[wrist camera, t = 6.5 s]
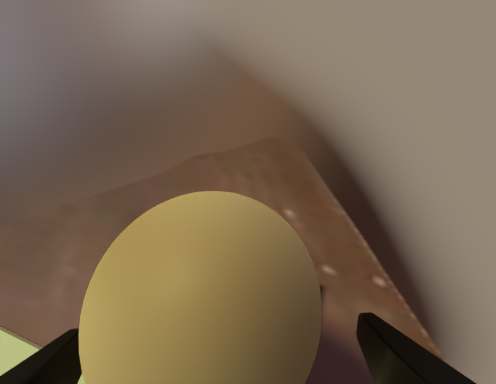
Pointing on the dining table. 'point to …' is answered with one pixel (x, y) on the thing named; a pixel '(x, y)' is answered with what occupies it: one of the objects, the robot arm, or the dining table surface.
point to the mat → (16, 350)
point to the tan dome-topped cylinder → (202, 298)
